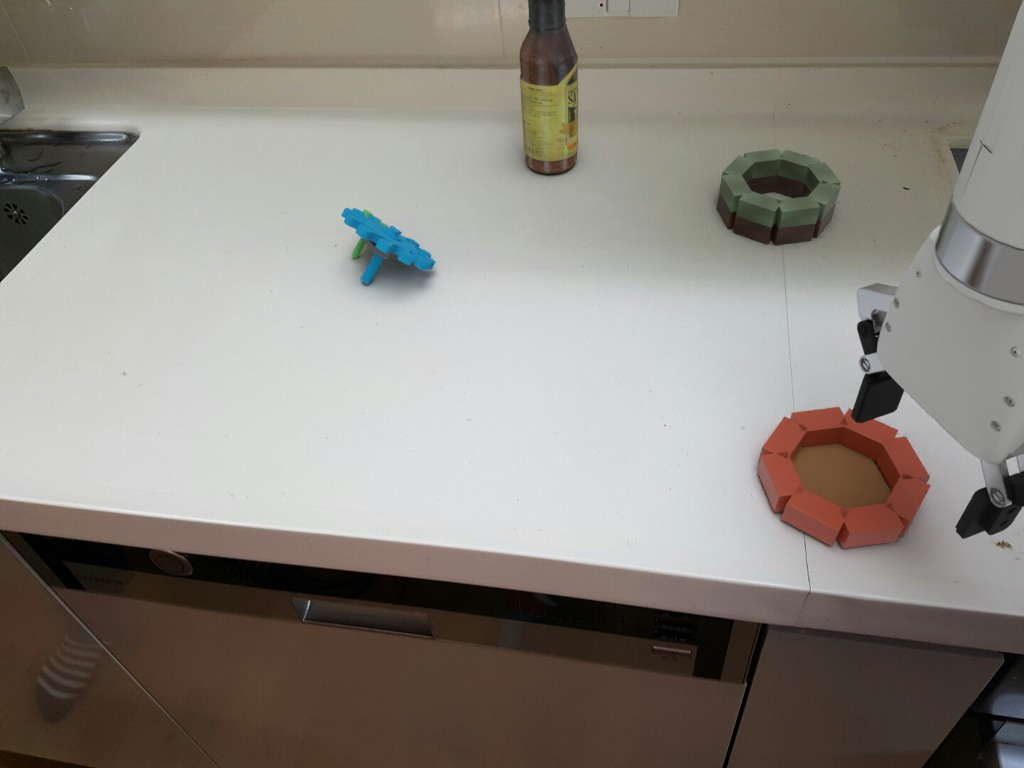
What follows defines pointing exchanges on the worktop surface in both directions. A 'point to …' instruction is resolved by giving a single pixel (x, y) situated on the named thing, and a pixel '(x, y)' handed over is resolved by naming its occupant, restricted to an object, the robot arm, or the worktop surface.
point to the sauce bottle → (549, 89)
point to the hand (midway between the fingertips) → (922, 467)
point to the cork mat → (841, 475)
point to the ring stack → (772, 216)
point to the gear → (383, 243)
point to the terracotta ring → (824, 515)
